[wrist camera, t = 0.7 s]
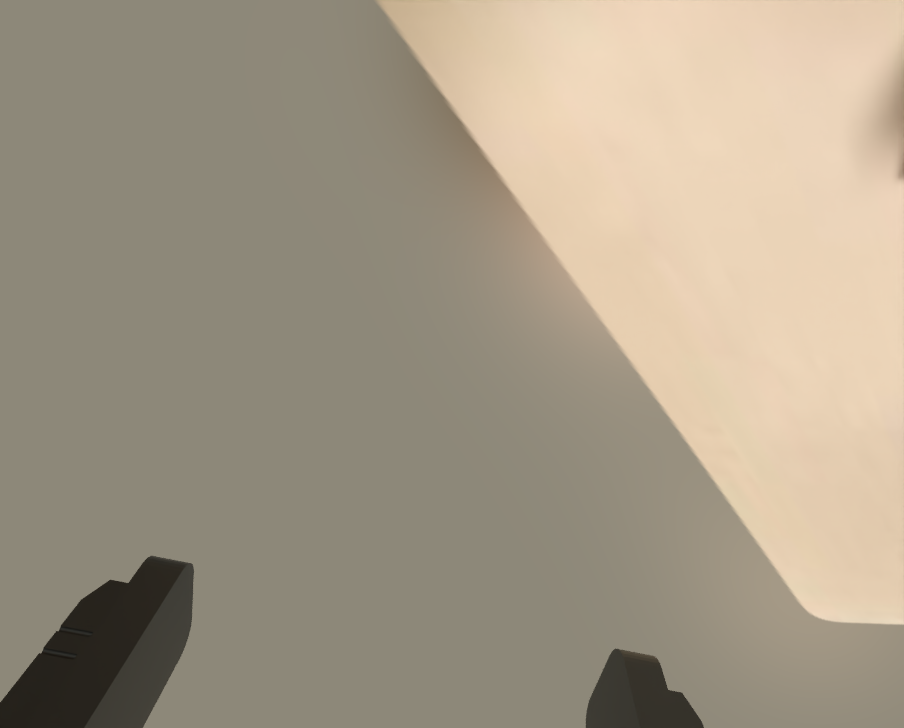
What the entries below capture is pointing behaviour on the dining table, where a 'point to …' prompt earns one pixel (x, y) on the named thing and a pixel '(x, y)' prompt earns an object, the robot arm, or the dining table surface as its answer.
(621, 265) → the dining table surface
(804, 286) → the dining table surface
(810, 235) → the dining table surface
